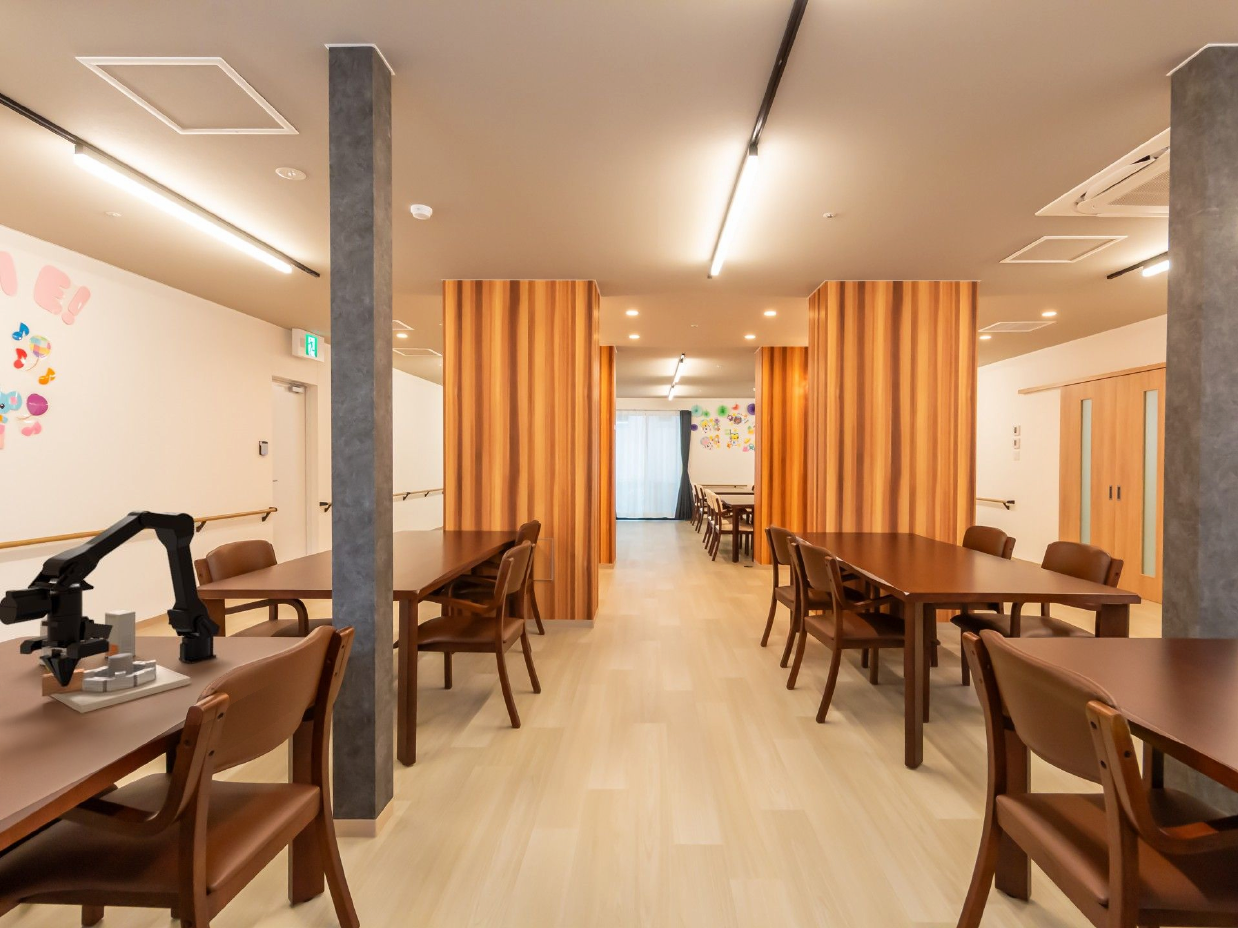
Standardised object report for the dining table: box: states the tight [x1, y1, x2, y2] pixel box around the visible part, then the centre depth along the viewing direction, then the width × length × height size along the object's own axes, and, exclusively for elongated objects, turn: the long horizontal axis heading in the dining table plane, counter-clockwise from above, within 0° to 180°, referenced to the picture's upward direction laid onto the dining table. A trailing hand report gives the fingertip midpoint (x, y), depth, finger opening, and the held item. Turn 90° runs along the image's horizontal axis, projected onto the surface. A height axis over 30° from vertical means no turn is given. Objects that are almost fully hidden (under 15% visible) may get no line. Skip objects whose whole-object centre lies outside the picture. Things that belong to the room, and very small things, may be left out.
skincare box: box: [104, 609, 136, 658], centre depth 164 cm, size 6×4×12 cm
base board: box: [49, 653, 191, 714], centre depth 140 cm, size 20×20×8 cm
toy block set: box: [41, 659, 157, 697], centre depth 138 cm, size 20×13×4 cm, turn 129°
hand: (65, 686), depth 132 cm, fingers closed
